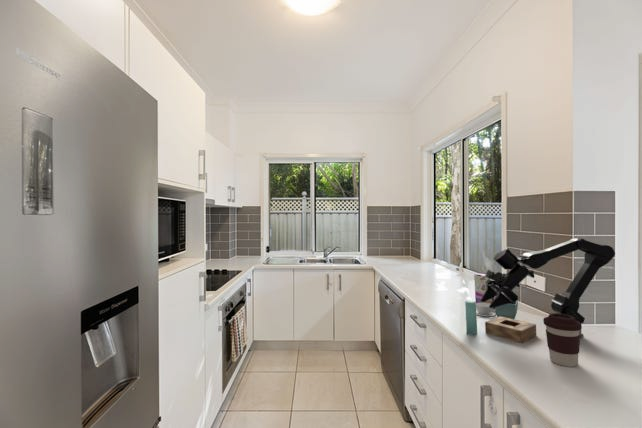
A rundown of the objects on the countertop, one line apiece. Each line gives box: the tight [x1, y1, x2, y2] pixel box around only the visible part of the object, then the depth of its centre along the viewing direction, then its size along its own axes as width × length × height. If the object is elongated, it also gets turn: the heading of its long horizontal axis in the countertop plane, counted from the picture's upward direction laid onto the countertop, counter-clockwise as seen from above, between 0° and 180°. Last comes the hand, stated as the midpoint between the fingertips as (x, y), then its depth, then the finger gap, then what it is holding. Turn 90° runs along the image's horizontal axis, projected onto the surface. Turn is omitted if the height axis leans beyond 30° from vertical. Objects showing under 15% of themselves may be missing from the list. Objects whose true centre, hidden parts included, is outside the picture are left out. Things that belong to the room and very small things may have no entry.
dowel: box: [464, 300, 478, 336], centre depth 130 cm, size 4×4×13 cm
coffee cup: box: [543, 312, 583, 368], centre depth 102 cm, size 10×10×15 cm
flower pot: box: [494, 299, 519, 320], centre depth 144 cm, size 9×9×9 cm
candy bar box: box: [473, 272, 497, 304], centre depth 168 cm, size 11×5×16 cm, turn 25°
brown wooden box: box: [484, 316, 537, 344], centre depth 127 cm, size 14×12×4 cm
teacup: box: [476, 303, 497, 317], centre depth 155 cm, size 10×10×5 cm
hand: (485, 304), depth 129 cm, fingers open, 9 cm apart
